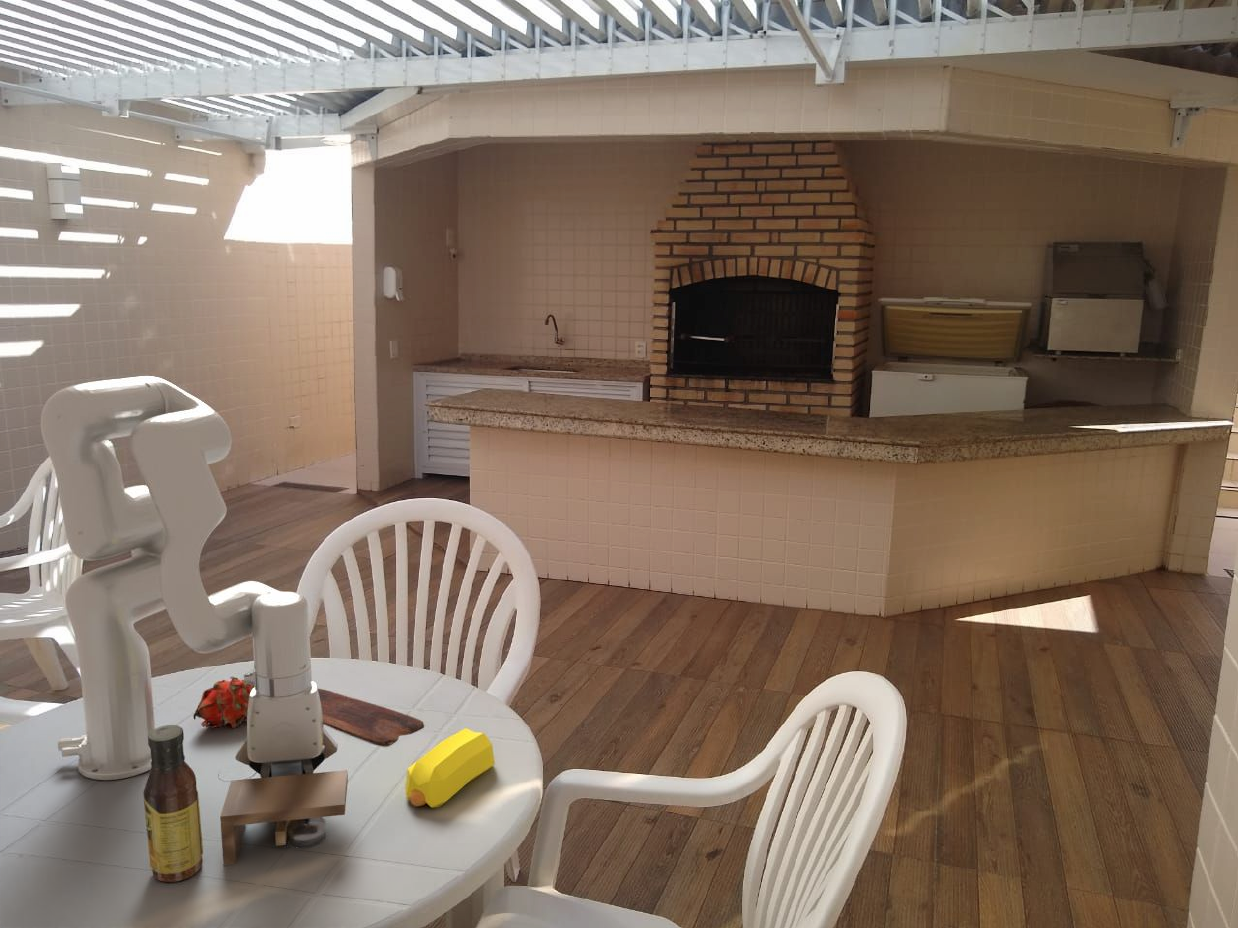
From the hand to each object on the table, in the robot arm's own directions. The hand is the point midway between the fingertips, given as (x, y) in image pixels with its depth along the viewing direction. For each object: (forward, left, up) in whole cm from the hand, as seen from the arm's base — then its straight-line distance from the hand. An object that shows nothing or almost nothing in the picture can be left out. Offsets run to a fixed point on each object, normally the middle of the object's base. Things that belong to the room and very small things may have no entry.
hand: (289, 795), depth 140 cm
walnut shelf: (+1, -9, -1) cm, 9 cm away
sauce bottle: (-13, -13, -2) cm, 18 cm away
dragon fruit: (-13, +28, -2) cm, 31 cm away
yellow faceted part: (+23, +2, -2) cm, 23 cm away
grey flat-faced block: (0, -5, -1) cm, 5 cm away
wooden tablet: (+8, +28, -2) cm, 29 cm away
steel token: (+3, -9, -2) cm, 9 cm away
